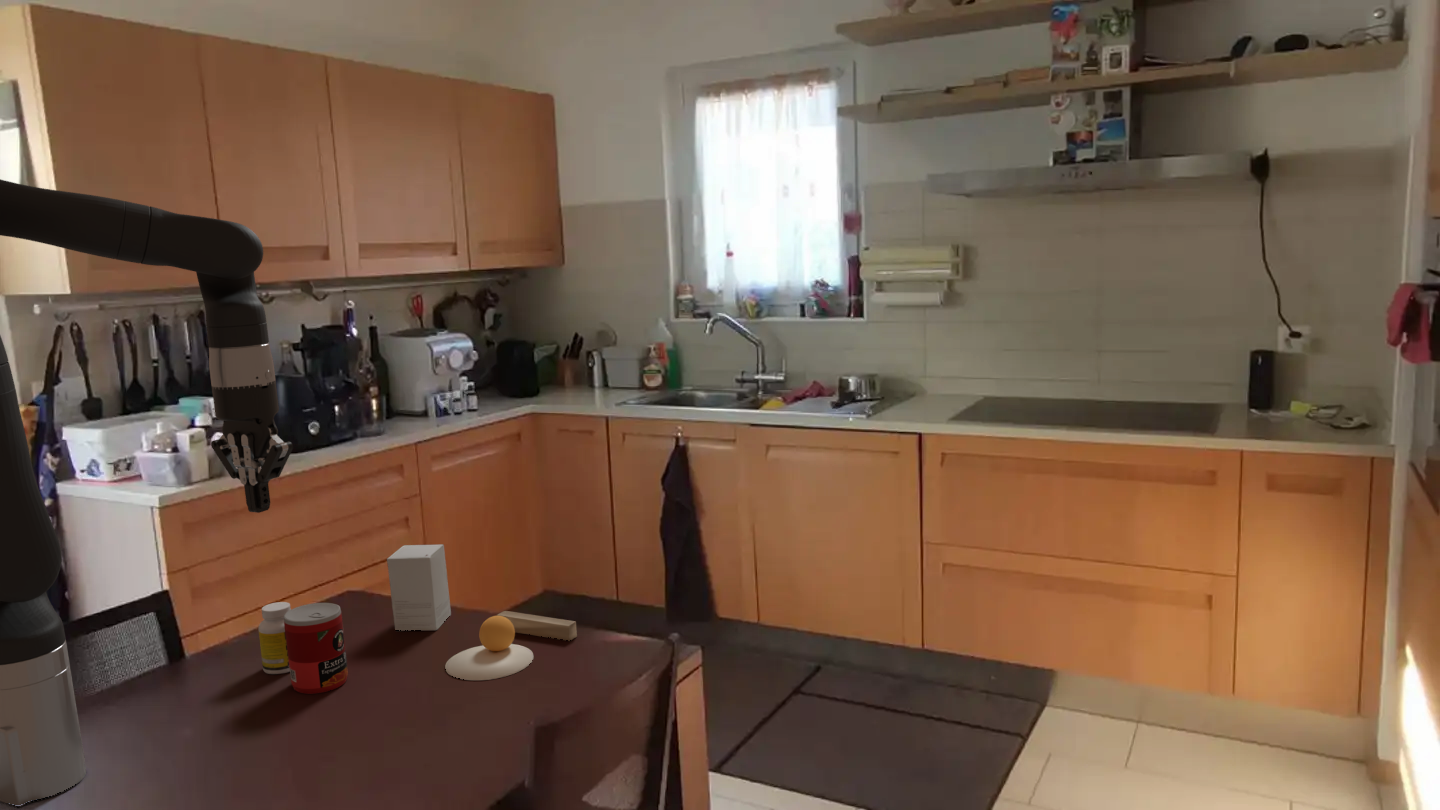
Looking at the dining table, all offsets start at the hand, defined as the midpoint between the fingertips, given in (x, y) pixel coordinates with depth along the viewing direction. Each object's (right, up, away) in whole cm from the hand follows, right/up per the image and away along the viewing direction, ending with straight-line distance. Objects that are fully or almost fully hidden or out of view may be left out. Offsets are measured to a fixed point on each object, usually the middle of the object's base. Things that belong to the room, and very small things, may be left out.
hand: (259, 510), depth 136 cm
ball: (+26, -21, +24) cm, 41 cm away
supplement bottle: (-6, -26, +22) cm, 35 cm away
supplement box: (+11, -23, +38) cm, 45 cm away
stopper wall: (+31, -23, +31) cm, 49 cm away
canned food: (+2, -27, +15) cm, 31 cm away
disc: (+26, -25, +20) cm, 41 cm away
